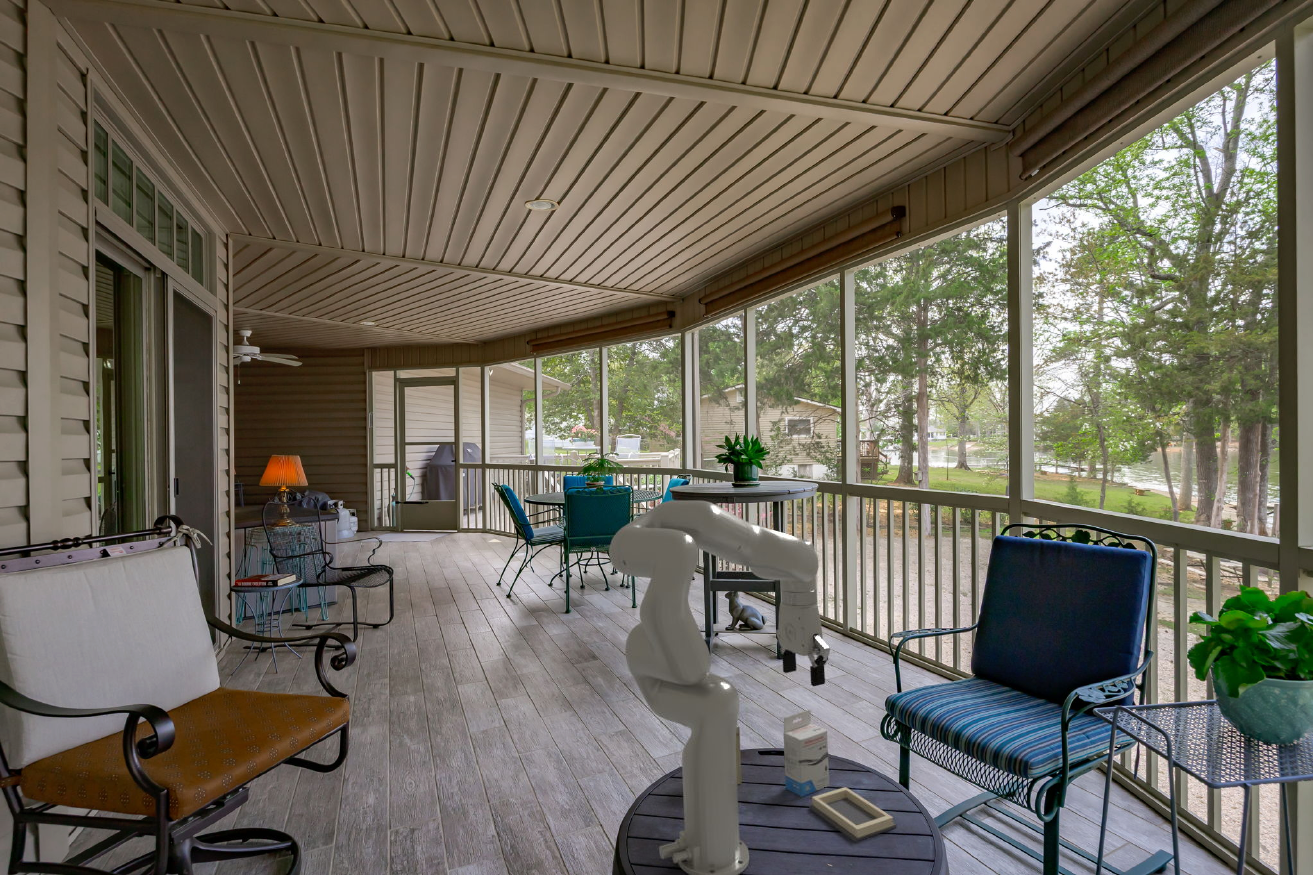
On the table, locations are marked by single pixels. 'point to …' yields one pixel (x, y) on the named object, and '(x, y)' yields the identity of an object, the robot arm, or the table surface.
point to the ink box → (805, 755)
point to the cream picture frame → (851, 814)
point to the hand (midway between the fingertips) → (803, 678)
